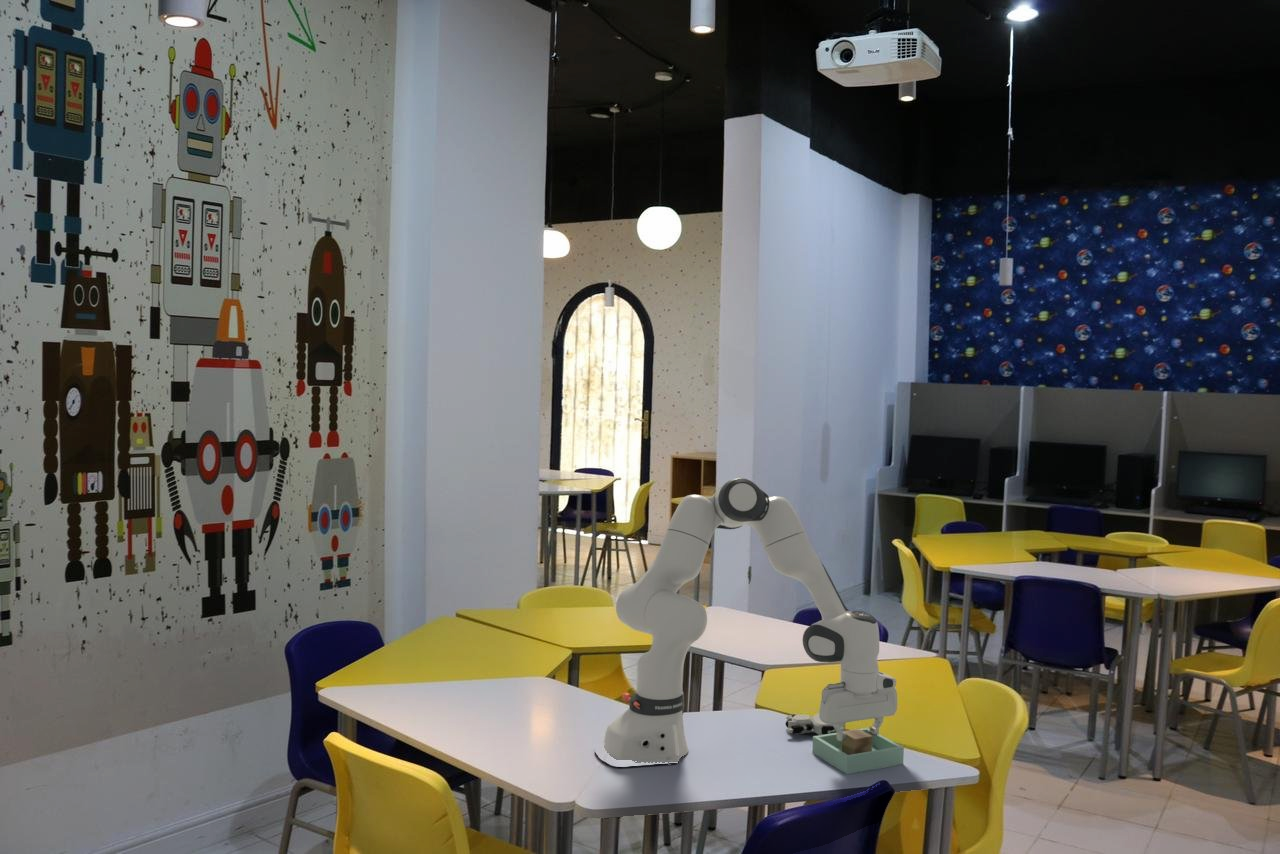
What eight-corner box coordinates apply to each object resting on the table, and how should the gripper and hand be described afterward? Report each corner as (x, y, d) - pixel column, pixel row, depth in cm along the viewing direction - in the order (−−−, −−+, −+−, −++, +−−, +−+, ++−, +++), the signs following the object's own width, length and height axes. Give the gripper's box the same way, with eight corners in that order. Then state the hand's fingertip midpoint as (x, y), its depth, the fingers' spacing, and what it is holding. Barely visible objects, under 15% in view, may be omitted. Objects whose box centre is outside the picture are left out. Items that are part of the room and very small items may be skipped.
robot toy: (785, 743, 253) (846, 743, 251) (784, 725, 253) (845, 725, 251) (786, 726, 265) (844, 726, 263) (785, 709, 265) (843, 708, 263)
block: (854, 759, 238) (854, 739, 238) (841, 752, 243) (842, 732, 243) (871, 756, 240) (872, 736, 240) (859, 749, 245) (859, 729, 245)
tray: (846, 774, 232) (846, 757, 232) (812, 752, 245) (812, 736, 245) (903, 764, 238) (903, 747, 238) (867, 743, 251) (867, 727, 251)
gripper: (830, 689, 233) (828, 748, 234) (902, 679, 242) (900, 736, 242) (814, 681, 239) (813, 738, 240) (885, 671, 247) (884, 727, 248)
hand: (857, 737), depth 241 cm, fingers open, 8 cm apart
